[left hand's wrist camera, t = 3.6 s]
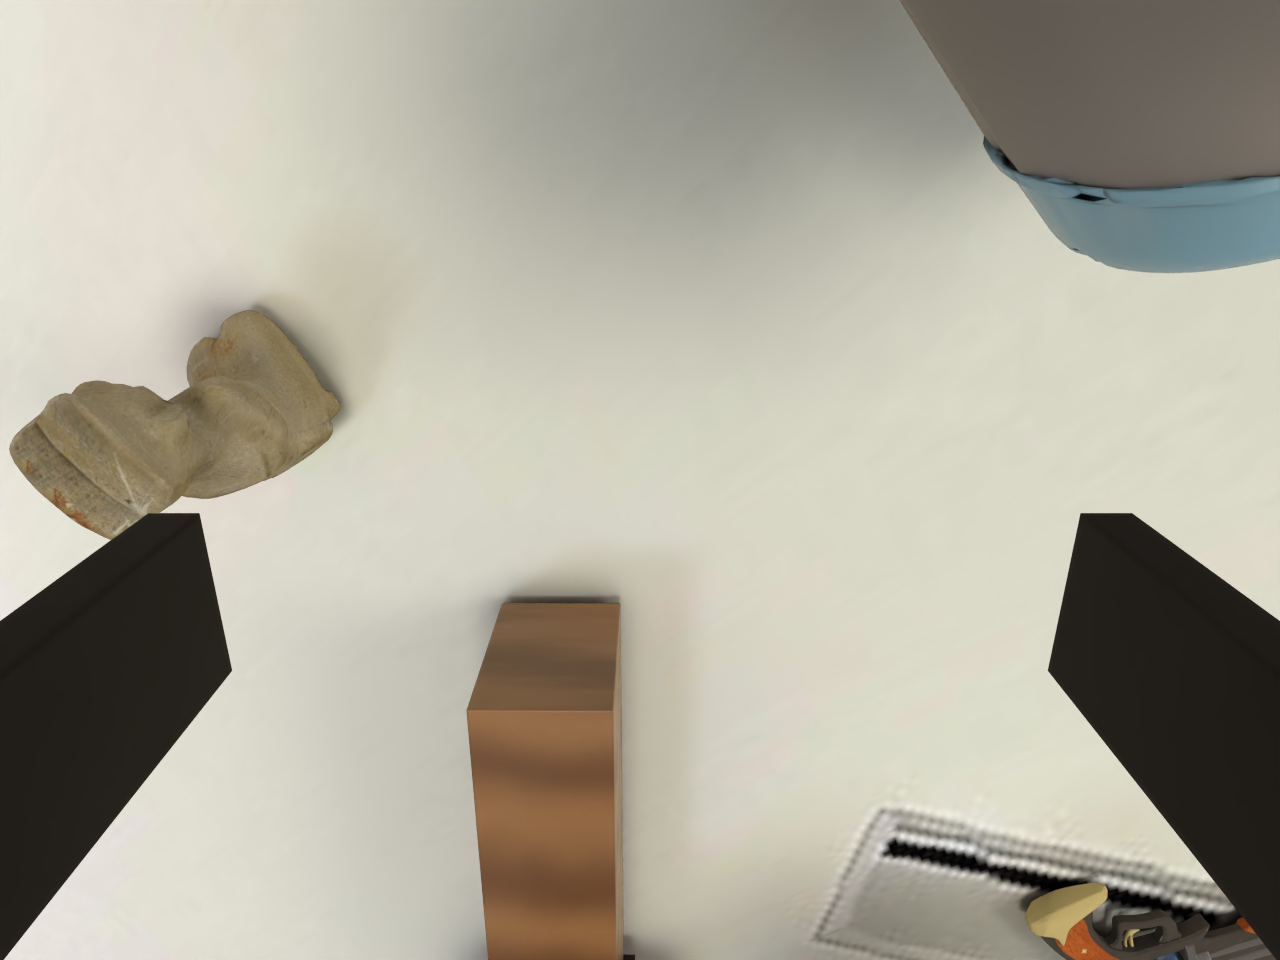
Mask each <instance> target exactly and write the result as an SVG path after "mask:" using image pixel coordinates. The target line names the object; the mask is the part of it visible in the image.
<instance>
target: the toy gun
mask: <svg viewBox="0 0 1280 960" xmlns="http://www.w3.org/2000/svg"><path fill="white" fill-rule="evenodd" d="M1106 899H1107V888H1106V886H1105V885H1103V884H1100V883H1087V884H1081V885H1075V886H1070V887H1066V888H1062V889H1058V890H1055V891H1052V892H1049V893H1047V894H1045V895H1043V896H1041V897H1039V898H1037V899H1035V900H1033V901H1032V902H1031V904H1030V906H1029V908H1028V910H1027V912H1026V920H1027V924H1028V926H1029V928H1030V929H1031V931H1032V932H1033V933H1034V934H1036V935H1038V936H1041V937H1042V938H1043V939H1044V940H1045V942H1046V943H1047V944H1048V945H1049V946H1050V947H1052V948H1053V949H1054V950H1055V951H1056V952H1057V953H1059V954H1060V955H1061V956H1062V957H1064V958H1065V959H1067V960H1276V959H1275V957H1274V956H1273V955H1272V954H1271V952H1270V951H1269V950H1268V948H1267V947H1266V946H1265V945H1264V943H1263V942H1262V941H1261V940H1260V938H1259V937H1258V936H1257V935H1256V933H1255V932H1254V931H1253V929H1252V928H1251V927H1250V926H1249V924H1248V923H1247V922H1246V921H1245V919H1244V918H1243V917H1242V918H1240V919H1238V920H1237V922H1236V924H1234V925H1230V926H1227V927H1223V928H1219V929H1215V930H1210V931H1208V929H1209V928H1210V925H1209V924H1208V923H1207V921H1206V920H1205V919H1204V918H1203V917H1202V916H1201V915H1200V914H1196V915H1195V916H1193V917H1191V918H1190V919H1188V920H1186V921H1184V922H1182V923H1180V924H1177V925H1176V923H1175V922H1174V920H1173V919H1172V918H1171V917H1170V916H1169V915H1168V914H1167V913H1166V912H1165V911H1163V910H1156V911H1152V912H1149V913H1145V914H1139V915H1118V916H1114V917H1113V918H1112V930H1111V933H1110V935H1109V936H1108V937H1106V938H1105V937H1102V936H1100V935H1099V934H1098V933H1096V932H1095V931H1094V929H1093V926H1092V913H1093V911H1094V910H1095V909H1096V908H1097V907H1099V906H1100V905H1101V904H1102V903H1103V902H1104V901H1105V900H1106ZM1155 926H1157V929H1156V931H1155V932H1153V933H1150V934H1146V935H1143V936H1139V937H1136V938H1132V936H1133V934H1134V933H1136V932H1138V931H1139V929H1145V928H1151V927H1155ZM1125 930H1127V931H1126V933H1125V935H1124V938H1123V941H1121V939H1122V935H1123V933H1124V931H1125ZM1127 938H1128V940H1127Z"/></svg>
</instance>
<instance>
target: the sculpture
mask: <svg viewBox="0 0 1280 960" xmlns="http://www.w3.org/2000/svg"><path fill="white" fill-rule="evenodd" d="M187 380H188V382H189V385H190V387H189V388H188V389H186V390H184V391H183V392H181V393H180V394H178V395H176V396H175V397H173V398H172V399H170V400H168V401H166V400H163V399H162V398H161V397H159V396H158V395H157V394H155V393H154V392H152V391H151V390H149V389H147V388H145V387H144V386H139V387H131V386H128V385H124V384H111V383H108V382H105V381H90V382H85V383H82V384H80V385H79V386H78V387H77V388H76V389H75V390H74V391H73V393H72V394H67V393H65V394H60V395H58V396H55V397H54V398H52V399H50V400H49V401H48V403H47V405H46V407H45V409H44V410H43V411H42V412H41V414H39V415H38V416H37V417H36V418H35V419H33V420H32V421H31V422H30V423H28V424H27V425H26V426H25V427H24V428H22V429H21V430H20V431H19V432H18V433H17V434H16V435H15V437H14V438H13V440H12V442H11V444H10V449H9V450H10V454H11V456H12V458H13V461H14V463H15V464H16V465H17V467H18V468H19V469H20V471H21V472H22V473H23V475H24V476H25V477H26V478H27V479H28V481H29V482H30V483H31V484H32V485H33V486H34V487H35V489H37V490H38V491H39V492H40V493H41V494H42V495H43V496H44V497H45V498H47V499H48V500H49V501H50V502H51V503H53V504H54V505H55V506H56V507H57V508H59V509H60V510H61V511H62V512H63V513H65V514H66V515H67V516H68V517H69V518H71V519H72V520H74V521H75V522H77V523H78V524H80V525H81V526H83V527H85V528H87V529H89V530H91V531H93V532H95V533H97V534H99V535H101V536H103V537H105V538H108V539H110V540H112V539H113V538H115V537H116V536H118V535H119V534H120V533H122V532H123V531H124V530H126V529H127V528H129V527H130V526H131V525H133V524H134V523H135V522H137V521H138V520H140V519H141V518H142V517H144V516H145V515H146V514H148V513H160V512H161V511H163V510H164V509H166V508H167V507H169V506H170V505H172V504H173V503H174V502H175V501H177V500H178V499H179V498H180V497H181V496H185V497H192V498H200V499H210V498H215V497H219V496H223V495H227V494H230V493H233V492H236V491H239V490H242V489H245V488H247V487H250V486H252V485H254V484H257V483H259V482H261V481H265V480H267V479H270V478H273V477H275V476H278V475H279V474H281V473H283V472H285V471H287V470H288V469H290V468H291V467H292V466H294V465H296V464H297V463H299V462H300V461H302V460H304V459H305V458H307V457H308V456H309V455H311V454H312V453H313V452H314V451H316V450H317V449H318V448H319V447H320V446H322V445H323V444H324V443H325V442H326V441H328V439H329V438H330V437H331V435H332V432H333V427H332V424H331V422H330V419H331V418H333V417H334V416H335V415H336V414H337V413H338V411H339V410H340V403H339V401H338V399H337V398H336V397H335V395H334V394H333V393H332V392H330V391H328V390H324V389H323V388H322V387H321V385H320V383H319V381H318V380H317V378H316V376H315V374H314V372H313V371H312V369H311V367H310V366H309V365H308V363H307V362H306V361H305V359H304V358H303V357H302V355H301V354H300V353H299V351H298V350H297V349H296V347H295V346H294V345H293V344H292V343H291V342H290V341H289V340H288V338H287V337H286V336H285V334H284V333H283V332H282V331H281V330H280V329H279V328H278V327H277V326H276V325H275V324H274V323H273V322H272V321H271V320H270V319H268V318H267V317H265V316H263V315H261V314H259V313H257V312H254V311H243V312H240V313H237V314H235V315H233V316H231V317H229V318H228V319H227V320H225V321H224V322H223V323H222V325H221V334H220V336H219V338H218V339H216V338H209V337H204V338H203V339H202V340H201V341H200V342H199V343H197V344H196V345H195V346H194V348H193V349H192V351H191V353H190V356H189V359H188V363H187Z"/></svg>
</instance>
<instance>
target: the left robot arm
mask: <svg viewBox="0 0 1280 960" xmlns="http://www.w3.org/2000/svg"><path fill="white" fill-rule="evenodd" d="M900 2H901V3H902V5H903V6H904V8H905V10H906V11H907V13H908V14H909V16H910V18H911V19H912V21H913V22H914V24H915V26H916V27H917V29H918V30H919V32H920V34H921V35H922V37H923V38H924V40H925V42H926V43H927V45H928V46H929V48H930V49H931V51H932V53H933V54H934V56H935V57H936V59H937V61H938V62H939V64H940V65H941V67H942V69H943V70H944V72H945V73H946V75H947V77H948V78H949V80H950V81H951V83H952V84H953V86H954V88H955V89H956V91H957V92H958V94H959V96H960V97H961V99H962V100H963V102H964V104H965V105H966V107H967V108H968V110H969V112H970V113H971V115H972V116H973V118H974V120H975V121H976V123H977V124H978V126H979V127H980V129H981V131H982V132H983V134H984V142H983V145H984V148H985V149H986V151H987V153H988V155H989V157H990V159H991V160H992V162H993V163H994V164H995V165H996V166H997V168H998V169H999V170H1000V171H1001V172H1003V173H1004V174H1005V175H1007V176H1008V177H1010V178H1011V179H1012V180H1014V181H1015V182H1017V184H1018V185H1019V186H1020V188H1021V189H1022V191H1023V192H1024V193H1025V195H1026V196H1027V198H1028V199H1029V201H1030V202H1031V203H1032V205H1033V206H1034V208H1035V209H1036V211H1037V212H1038V213H1039V215H1040V216H1041V218H1042V219H1043V220H1044V222H1045V223H1046V225H1047V226H1048V228H1049V229H1050V230H1051V231H1052V233H1053V234H1054V235H1055V236H1056V237H1057V238H1058V239H1059V240H1060V241H1061V242H1062V243H1064V244H1065V245H1066V246H1067V247H1068V248H1070V249H1071V250H1073V251H1075V252H1077V253H1081V254H1084V255H1087V256H1089V257H1091V258H1092V259H1094V260H1095V261H1098V262H1102V263H1103V264H1105V265H1107V266H1110V267H1114V268H1117V269H1124V270H1130V271H1138V272H1151V273H1188V272H1202V271H1213V270H1220V269H1227V268H1234V267H1240V266H1246V265H1251V264H1256V263H1261V262H1267V261H1271V260H1276V259H1280V0H900ZM231 671H232V668H231V663H230V658H229V654H228V649H227V644H226V639H225V634H224V630H223V625H222V620H221V615H220V610H219V605H218V601H217V596H216V591H215V586H214V581H213V577H212V572H211V567H210V562H209V557H208V553H207V548H206V543H205V538H204V533H203V529H202V524H201V519H200V514H199V513H148V514H146V515H145V516H144V517H142V518H141V519H140V520H138V521H137V522H135V523H134V524H133V525H131V526H130V527H129V528H127V529H126V530H124V531H123V532H122V533H120V534H119V535H118V536H116V537H115V538H113V539H112V540H111V541H109V542H108V543H107V544H105V545H104V546H102V547H101V548H100V549H98V550H97V551H96V552H94V553H93V554H92V555H90V556H89V557H87V558H86V559H85V560H83V561H82V562H81V563H79V564H78V565H76V566H75V567H74V568H72V569H71V570H70V571H68V572H67V573H65V574H64V575H63V576H61V577H60V578H59V579H57V580H56V581H55V582H53V583H52V584H50V585H49V586H48V587H46V588H45V589H44V590H42V591H41V592H39V593H38V594H37V595H35V596H34V597H33V598H31V599H30V600H28V601H27V602H26V603H24V604H23V605H22V606H20V607H19V608H18V609H16V610H15V611H13V612H12V613H11V614H9V615H8V616H7V617H5V618H4V619H2V620H1V621H0V960H4V959H5V957H6V956H7V955H8V954H9V952H10V951H11V950H12V948H13V947H14V946H15V945H16V943H17V942H18V941H19V940H20V938H21V937H22V936H23V935H24V933H25V932H26V931H27V929H28V928H29V927H30V926H31V924H32V923H33V922H34V921H35V919H36V918H37V917H38V916H39V914H40V913H41V912H42V910H43V909H44V908H45V907H46V905H47V904H48V903H49V902H50V900H51V899H52V898H53V897H54V895H55V894H56V893H57V891H58V890H59V889H60V888H61V886H62V885H63V884H64V883H65V881H66V880H67V879H68V878H69V876H70V875H71V874H72V873H73V871H74V870H75V869H76V867H77V866H78V865H79V864H80V862H81V861H82V860H83V859H84V857H85V856H86V855H87V854H88V852H89V851H90V850H91V848H92V847H93V846H94V845H95V843H96V842H97V841H98V840H99V838H100V837H101V836H102V835H103V833H104V832H105V831H106V829H107V828H108V827H109V826H110V824H111V823H112V822H113V821H114V819H115V818H116V817H117V816H118V814H119V813H120V812H121V811H122V809H123V808H124V807H125V805H126V804H127V803H128V802H129V800H130V799H131V798H132V797H133V795H134V794H135V793H136V792H137V790H138V789H139V788H140V786H141V785H142V784H143V783H144V781H145V780H146V779H147V778H148V776H149V775H150V774H151V773H152V771H153V770H154V769H155V767H156V766H157V765H158V764H159V762H160V761H161V760H162V759H163V757H164V756H165V755H166V754H167V752H168V751H169V750H170V748H171V747H172V746H173V745H174V743H175V742H176V741H177V740H178V738H179V737H180V736H181V735H182V733H183V732H184V731H185V730H186V728H187V727H188V726H189V724H190V723H191V722H192V721H193V719H194V718H195V717H196V716H197V714H198V713H199V712H200V711H201V709H202V708H203V707H204V705H205V704H206V703H207V702H208V700H209V699H210V698H211V697H212V695H213V694H214V693H215V692H216V690H217V689H218V688H219V686H220V685H221V684H222V683H223V681H224V680H225V679H226V678H227V676H228V675H229V674H230V673H231ZM1048 671H1049V673H1050V674H1051V675H1052V676H1053V678H1054V679H1055V680H1056V681H1057V683H1058V684H1059V685H1060V686H1061V688H1062V689H1063V690H1064V692H1065V693H1066V694H1067V695H1068V697H1069V698H1070V699H1071V700H1072V702H1073V703H1074V704H1075V705H1076V707H1077V708H1078V709H1079V711H1080V712H1081V713H1082V714H1083V716H1084V717H1085V718H1086V719H1087V721H1088V722H1089V723H1090V724H1091V726H1092V727H1093V728H1094V730H1095V731H1096V732H1097V733H1098V735H1099V736H1100V737H1101V738H1102V740H1103V741H1104V742H1105V743H1106V745H1107V746H1108V747H1109V749H1110V750H1111V751H1112V752H1113V754H1114V755H1115V756H1116V757H1117V759H1118V760H1119V761H1120V762H1121V764H1122V765H1123V766H1124V767H1125V769H1126V770H1127V771H1128V773H1129V774H1130V775H1131V776H1132V778H1133V779H1134V780H1135V781H1136V783H1137V784H1138V785H1139V786H1140V788H1141V789H1142V790H1143V792H1144V793H1145V794H1146V795H1147V797H1148V798H1149V799H1150V800H1151V802H1152V803H1153V804H1154V805H1155V807H1156V808H1157V809H1158V811H1159V812H1160V813H1161V814H1162V816H1163V817H1164V818H1165V819H1166V821H1167V822H1168V823H1169V824H1170V826H1171V827H1172V828H1173V829H1174V831H1175V832H1176V833H1177V835H1178V836H1179V837H1180V838H1181V840H1182V841H1183V842H1184V843H1185V845H1186V846H1187V847H1188V848H1189V850H1190V851H1191V852H1192V854H1193V855H1194V856H1195V857H1196V859H1197V860H1198V861H1199V862H1200V864H1201V865H1202V866H1203V867H1204V869H1205V870H1206V871H1207V873H1208V874H1209V875H1210V876H1211V878H1212V879H1213V880H1214V881H1215V883H1216V884H1217V885H1218V886H1219V888H1220V889H1221V890H1222V892H1223V893H1224V894H1225V895H1226V897H1227V898H1228V899H1229V900H1230V902H1231V903H1232V904H1233V905H1234V907H1235V908H1236V909H1237V910H1238V912H1239V913H1240V914H1241V916H1242V917H1243V918H1244V919H1245V921H1246V922H1247V923H1248V924H1249V926H1250V927H1251V928H1252V929H1253V931H1254V932H1255V933H1256V935H1257V936H1258V937H1259V938H1260V940H1261V941H1262V942H1263V943H1264V945H1265V946H1266V947H1267V948H1268V950H1269V951H1270V952H1271V954H1272V955H1273V956H1274V957H1275V959H1276V960H1280V621H1279V620H1278V619H1276V618H1275V617H1273V616H1272V615H1271V614H1269V613H1268V612H1267V611H1265V610H1264V609H1262V608H1261V607H1260V606H1258V605H1257V604H1256V603H1254V602H1253V601H1252V600H1250V599H1249V598H1247V597H1246V596H1245V595H1243V594H1242V593H1241V592H1239V591H1238V590H1236V589H1235V588H1234V587H1232V586H1231V585H1230V584H1228V583H1227V582H1225V581H1224V580H1223V579H1221V578H1220V577H1219V576H1217V575H1216V574H1215V573H1213V572H1212V571H1210V570H1209V569H1208V568H1206V567H1205V566H1204V565H1202V564H1201V563H1199V562H1198V561H1197V560H1195V559H1194V558H1193V557H1191V556H1190V555H1188V554H1187V553H1186V552H1184V551H1183V550H1182V549H1180V548H1179V547H1177V546H1176V545H1175V544H1173V543H1172V542H1171V541H1169V540H1168V539H1167V538H1165V537H1164V536H1162V535H1161V534H1160V533H1158V532H1157V531H1156V530H1154V529H1153V528H1151V527H1150V526H1149V525H1147V524H1146V523H1145V522H1143V521H1142V520H1140V519H1139V518H1138V517H1136V516H1135V515H1134V514H1132V513H1081V514H1080V519H1079V524H1078V528H1077V533H1076V538H1075V543H1074V548H1073V553H1072V557H1071V562H1070V567H1069V572H1068V577H1067V581H1066V586H1065V591H1064V596H1063V601H1062V605H1061V610H1060V615H1059V620H1058V625H1057V630H1056V634H1055V639H1054V644H1053V649H1052V654H1051V658H1050V663H1049V668H1048Z"/></svg>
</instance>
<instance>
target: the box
mask: <svg viewBox="0 0 1280 960" xmlns="http://www.w3.org/2000/svg"><path fill="white" fill-rule="evenodd" d="M467 721H468V732H469V744H470V755H471V767H472V778H473V790H474V801H475V813H476V824H477V836H478V847H479V859H480V870H481V882H482V893H483V905H484V916H485V928H486V939H487V951H488V960H623V955H624V937H623V830H622V723H621V617H620V604H619V603H502V606H501V609H500V612H499V615H498V618H497V621H496V624H495V627H494V630H493V633H492V636H491V639H490V642H489V645H488V648H487V651H486V654H485V657H484V660H483V663H482V666H481V669H480V672H479V675H478V678H477V681H476V684H475V687H474V690H473V693H472V696H471V699H470V702H469V705H468V708H467Z"/></svg>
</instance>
